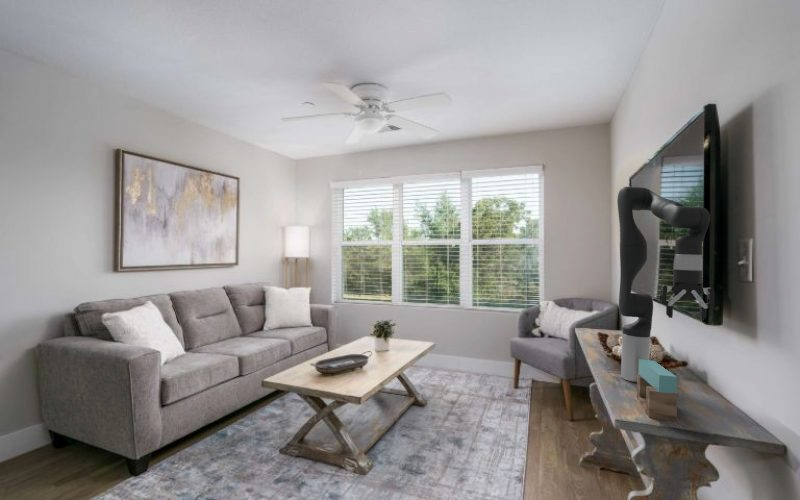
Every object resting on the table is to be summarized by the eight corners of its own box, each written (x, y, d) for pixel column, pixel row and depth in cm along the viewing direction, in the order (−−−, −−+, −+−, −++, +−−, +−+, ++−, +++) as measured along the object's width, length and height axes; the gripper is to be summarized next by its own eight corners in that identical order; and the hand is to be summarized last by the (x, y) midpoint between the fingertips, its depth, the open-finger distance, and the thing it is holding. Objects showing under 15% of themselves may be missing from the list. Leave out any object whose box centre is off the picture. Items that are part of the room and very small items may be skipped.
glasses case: (638, 374, 133) (638, 359, 133) (653, 375, 132) (654, 360, 132) (658, 392, 116) (659, 375, 116) (676, 393, 115) (677, 376, 115)
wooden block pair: (636, 397, 133) (637, 373, 133) (660, 400, 131) (661, 376, 131) (648, 417, 117) (649, 390, 117) (676, 421, 115) (677, 394, 115)
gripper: (709, 269, 128) (707, 318, 128) (658, 267, 133) (657, 314, 133) (719, 270, 121) (717, 322, 121) (665, 268, 126) (663, 318, 126)
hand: (685, 318), depth 127 cm, fingers open, 8 cm apart
